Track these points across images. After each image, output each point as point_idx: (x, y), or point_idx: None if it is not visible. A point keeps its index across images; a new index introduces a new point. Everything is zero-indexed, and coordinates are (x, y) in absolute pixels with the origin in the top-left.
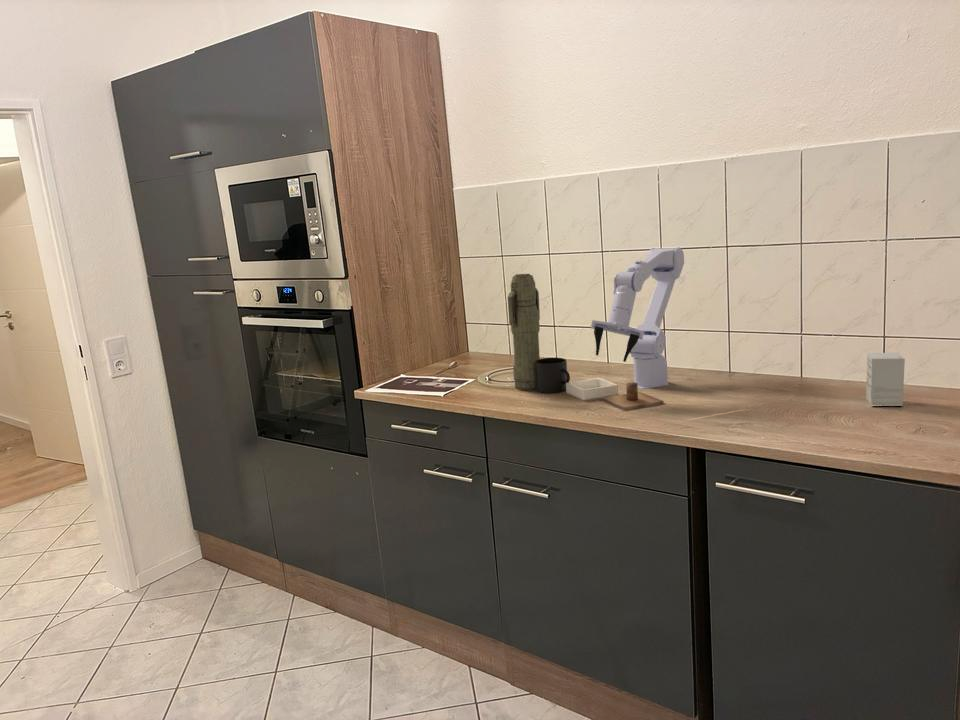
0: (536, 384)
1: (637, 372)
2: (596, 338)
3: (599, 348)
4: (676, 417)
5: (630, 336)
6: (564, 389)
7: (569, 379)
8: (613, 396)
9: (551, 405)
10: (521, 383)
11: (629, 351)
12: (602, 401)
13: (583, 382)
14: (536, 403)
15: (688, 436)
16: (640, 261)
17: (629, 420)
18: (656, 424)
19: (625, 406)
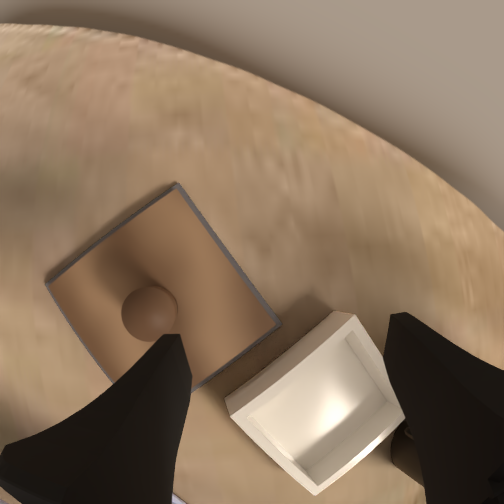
0: None
1: None
2: (492, 366)
3: (410, 332)
4: (31, 149)
5: (71, 474)
6: (400, 428)
7: (408, 431)
8: (235, 348)
9: (413, 266)
10: None
11: (124, 374)
12: (271, 311)
13: (361, 446)
14: (446, 284)
15: (49, 30)
16: None
17: (160, 106)
18: (91, 82)
19: (173, 201)
